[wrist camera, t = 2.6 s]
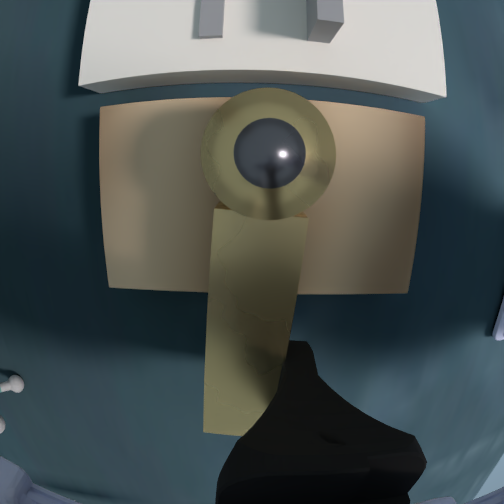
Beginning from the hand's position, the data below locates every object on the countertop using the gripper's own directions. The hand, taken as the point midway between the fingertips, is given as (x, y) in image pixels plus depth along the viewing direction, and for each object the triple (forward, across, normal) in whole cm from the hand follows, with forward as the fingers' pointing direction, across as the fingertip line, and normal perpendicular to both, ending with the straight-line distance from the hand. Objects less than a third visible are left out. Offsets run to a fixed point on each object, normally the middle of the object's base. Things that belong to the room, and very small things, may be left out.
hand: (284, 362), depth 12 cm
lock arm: (+1, +2, -3) cm, 4 cm away
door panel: (+3, +2, -14) cm, 15 cm away
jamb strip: (+3, +2, -6) cm, 7 cm away
